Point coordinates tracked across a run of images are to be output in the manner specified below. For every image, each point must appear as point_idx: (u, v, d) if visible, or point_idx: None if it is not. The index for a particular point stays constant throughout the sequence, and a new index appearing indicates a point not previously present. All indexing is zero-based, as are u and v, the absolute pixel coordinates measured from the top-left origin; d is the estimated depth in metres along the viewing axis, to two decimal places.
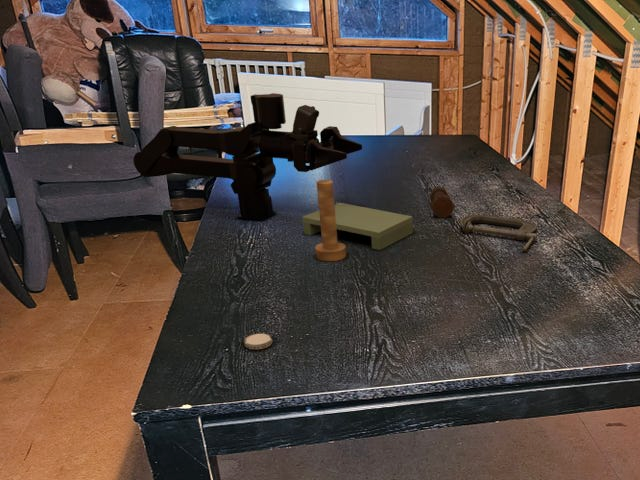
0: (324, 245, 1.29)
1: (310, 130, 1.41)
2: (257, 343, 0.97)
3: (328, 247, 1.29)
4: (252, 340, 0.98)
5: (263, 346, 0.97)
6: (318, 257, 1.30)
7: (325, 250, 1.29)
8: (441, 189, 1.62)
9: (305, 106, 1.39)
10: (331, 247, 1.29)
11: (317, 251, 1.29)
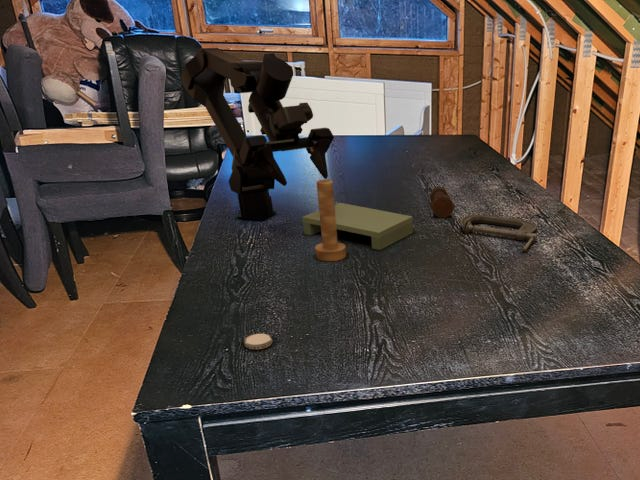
0: (324, 245, 1.29)
1: (291, 127, 1.29)
2: (257, 343, 0.97)
3: (328, 247, 1.29)
4: (252, 340, 0.98)
5: (263, 346, 0.97)
6: (318, 257, 1.30)
7: (325, 250, 1.29)
8: (441, 189, 1.62)
9: (296, 108, 1.26)
10: (331, 247, 1.29)
11: (317, 251, 1.29)
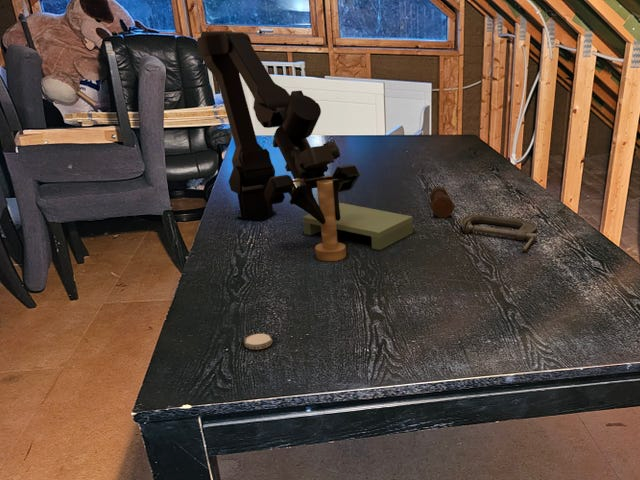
0: (324, 245, 1.29)
1: (317, 166, 1.26)
2: (257, 343, 0.97)
3: (328, 247, 1.29)
4: (252, 340, 0.98)
5: (263, 346, 0.97)
6: (318, 257, 1.30)
7: (325, 250, 1.29)
8: (441, 189, 1.62)
9: (323, 148, 1.22)
10: (331, 247, 1.29)
11: (317, 251, 1.29)
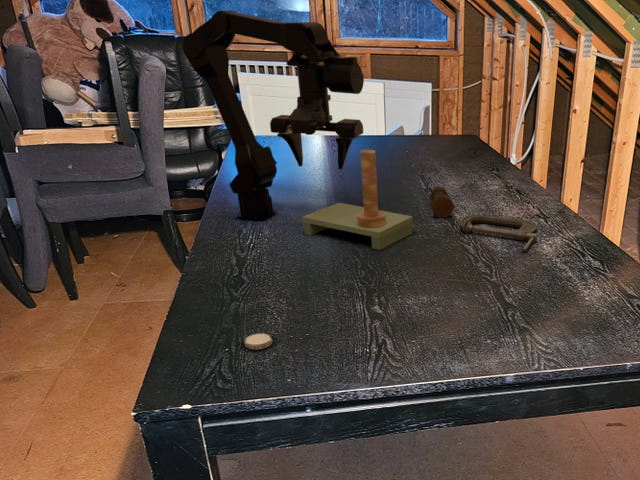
0: (368, 213, 1.36)
1: None
2: (257, 343, 0.97)
3: (372, 214, 1.36)
4: (252, 340, 0.98)
5: (263, 346, 0.97)
6: (365, 225, 1.36)
7: (371, 217, 1.36)
8: (441, 189, 1.62)
9: (301, 122, 1.30)
10: (375, 214, 1.36)
11: (363, 219, 1.35)
